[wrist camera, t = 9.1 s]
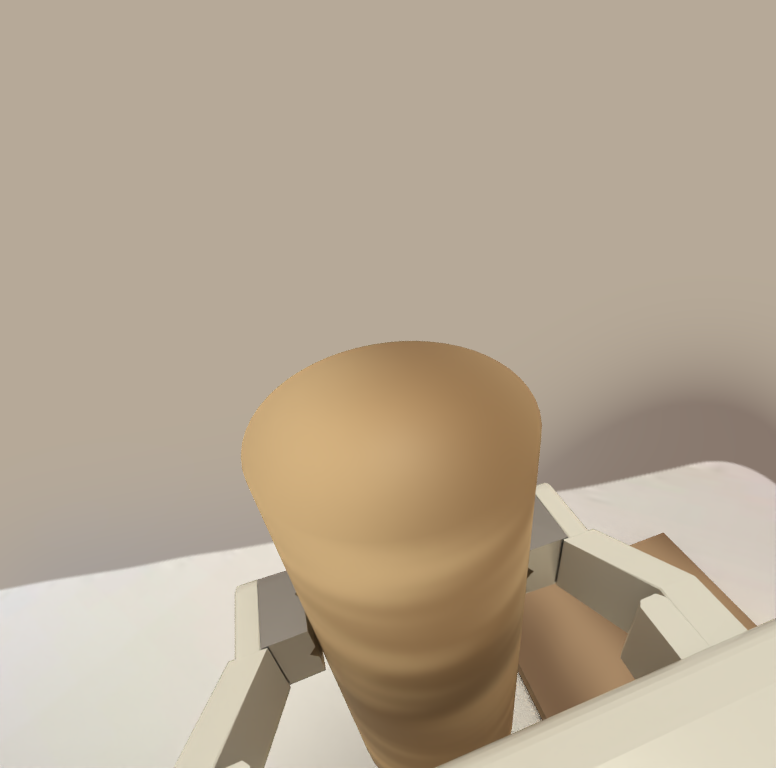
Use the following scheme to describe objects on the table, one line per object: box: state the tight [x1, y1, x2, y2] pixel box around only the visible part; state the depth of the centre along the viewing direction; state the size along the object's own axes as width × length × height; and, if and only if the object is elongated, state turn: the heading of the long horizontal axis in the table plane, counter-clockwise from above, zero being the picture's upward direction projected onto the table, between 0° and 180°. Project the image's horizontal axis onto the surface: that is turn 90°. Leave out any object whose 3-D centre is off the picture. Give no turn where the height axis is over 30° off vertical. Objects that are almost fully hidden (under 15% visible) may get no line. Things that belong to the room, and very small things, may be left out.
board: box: [518, 533, 757, 720], centre depth 23 cm, size 13×15×1 cm
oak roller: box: [241, 341, 542, 768], centre depth 11 cm, size 5×5×12 cm
